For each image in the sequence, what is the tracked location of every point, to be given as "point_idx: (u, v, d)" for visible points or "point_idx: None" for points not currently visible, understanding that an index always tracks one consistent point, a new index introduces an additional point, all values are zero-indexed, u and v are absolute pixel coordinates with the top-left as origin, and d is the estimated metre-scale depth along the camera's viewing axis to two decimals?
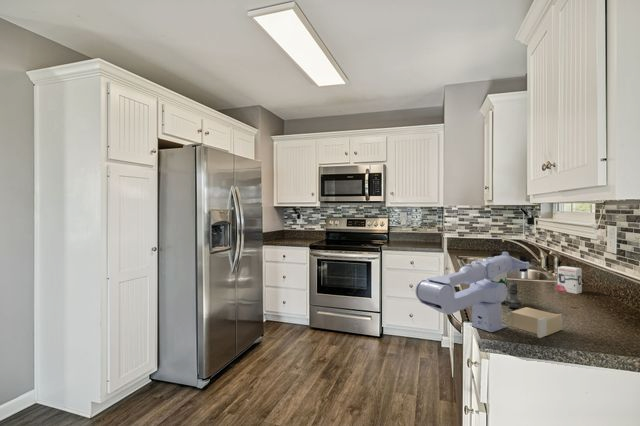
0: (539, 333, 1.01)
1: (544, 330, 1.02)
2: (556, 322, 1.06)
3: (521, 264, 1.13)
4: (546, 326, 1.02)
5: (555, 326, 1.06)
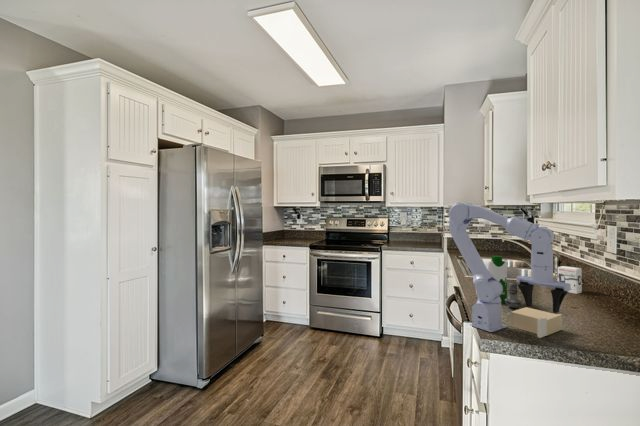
0: (539, 333, 1.01)
1: (544, 330, 1.02)
2: (556, 322, 1.06)
3: None
4: (546, 326, 1.02)
5: (555, 326, 1.06)
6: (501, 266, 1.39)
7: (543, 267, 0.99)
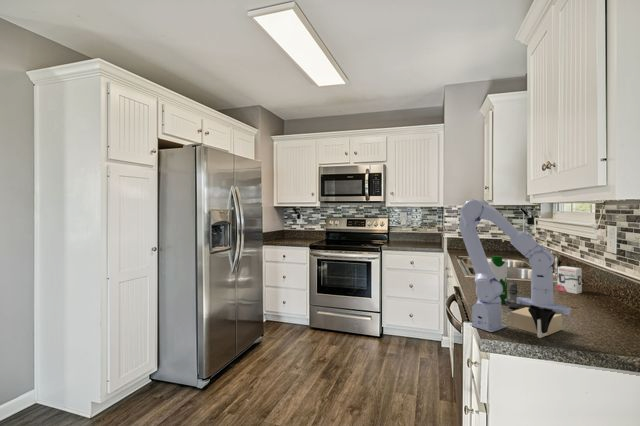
0: (539, 333, 1.01)
1: None
2: (556, 322, 1.06)
3: None
4: None
5: (555, 326, 1.06)
6: (501, 266, 1.39)
7: (543, 290, 0.99)
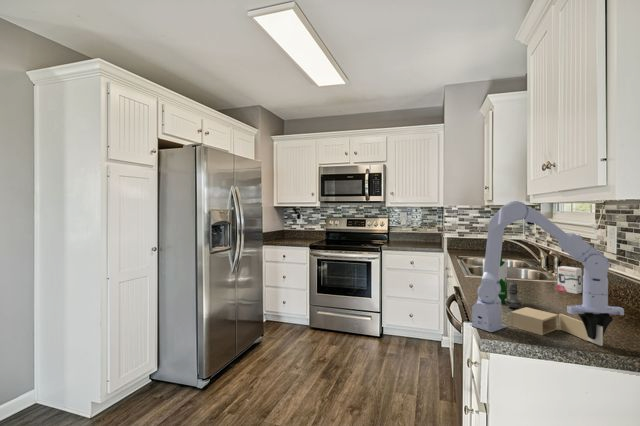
0: (601, 341, 0.95)
1: None
2: None
3: None
4: None
5: None
6: (501, 266, 1.39)
7: (606, 294, 0.94)
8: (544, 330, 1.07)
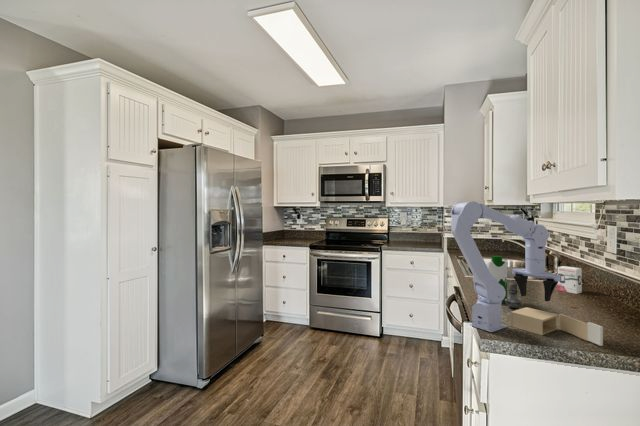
0: (601, 341, 0.95)
1: None
2: None
3: None
4: None
5: None
6: (501, 266, 1.39)
7: (536, 260, 1.10)
8: (544, 330, 1.07)
